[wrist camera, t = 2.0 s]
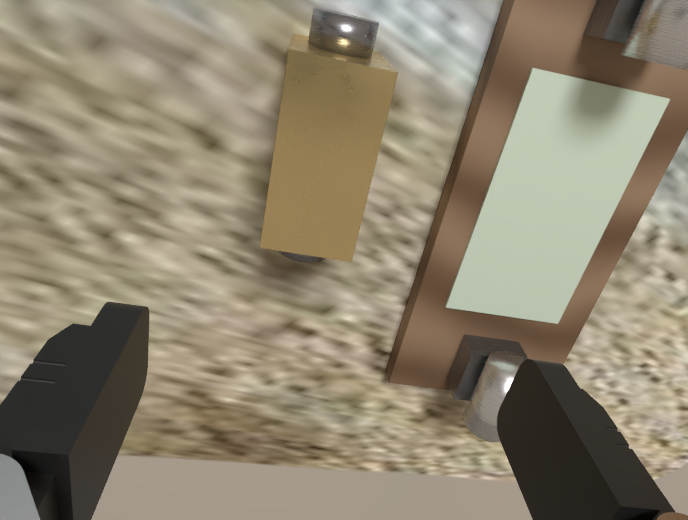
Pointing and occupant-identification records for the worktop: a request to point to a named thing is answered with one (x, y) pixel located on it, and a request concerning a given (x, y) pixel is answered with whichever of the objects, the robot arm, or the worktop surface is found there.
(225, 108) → the worktop surface
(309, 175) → the coupling block
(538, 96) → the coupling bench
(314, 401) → the worktop surface
